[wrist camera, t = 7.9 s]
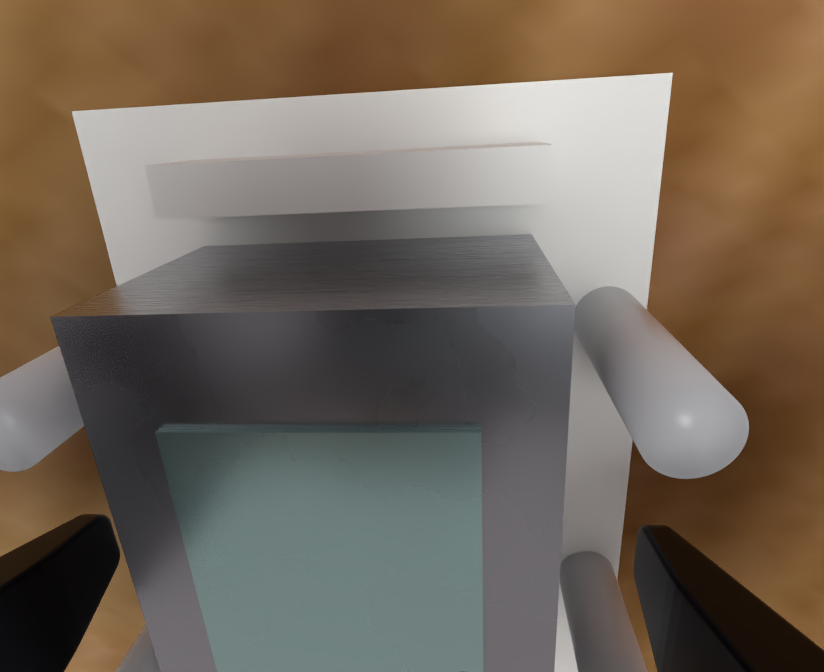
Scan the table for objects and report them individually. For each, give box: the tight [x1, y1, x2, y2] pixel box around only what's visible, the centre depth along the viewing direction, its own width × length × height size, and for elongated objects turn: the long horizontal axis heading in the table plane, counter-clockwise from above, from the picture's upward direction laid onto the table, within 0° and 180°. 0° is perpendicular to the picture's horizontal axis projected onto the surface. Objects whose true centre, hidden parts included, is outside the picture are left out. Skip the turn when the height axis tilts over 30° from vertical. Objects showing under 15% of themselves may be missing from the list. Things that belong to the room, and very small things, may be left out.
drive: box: [50, 234, 575, 672], centre depth 9 cm, size 6×9×4 cm, turn 3°
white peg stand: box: [0, 73, 749, 672], centre depth 10 cm, size 10×14×5 cm
